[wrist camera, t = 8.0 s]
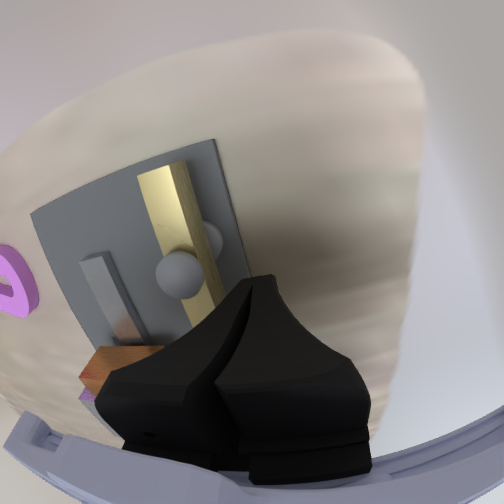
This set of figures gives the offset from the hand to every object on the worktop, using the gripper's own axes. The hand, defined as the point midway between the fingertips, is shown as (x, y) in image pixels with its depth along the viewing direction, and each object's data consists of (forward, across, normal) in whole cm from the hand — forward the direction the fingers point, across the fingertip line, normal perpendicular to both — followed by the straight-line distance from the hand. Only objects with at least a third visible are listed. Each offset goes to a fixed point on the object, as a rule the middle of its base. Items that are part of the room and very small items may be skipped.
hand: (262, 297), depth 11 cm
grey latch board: (+2, +7, +2) cm, 7 cm away
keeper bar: (0, +2, -1) cm, 3 cm away
